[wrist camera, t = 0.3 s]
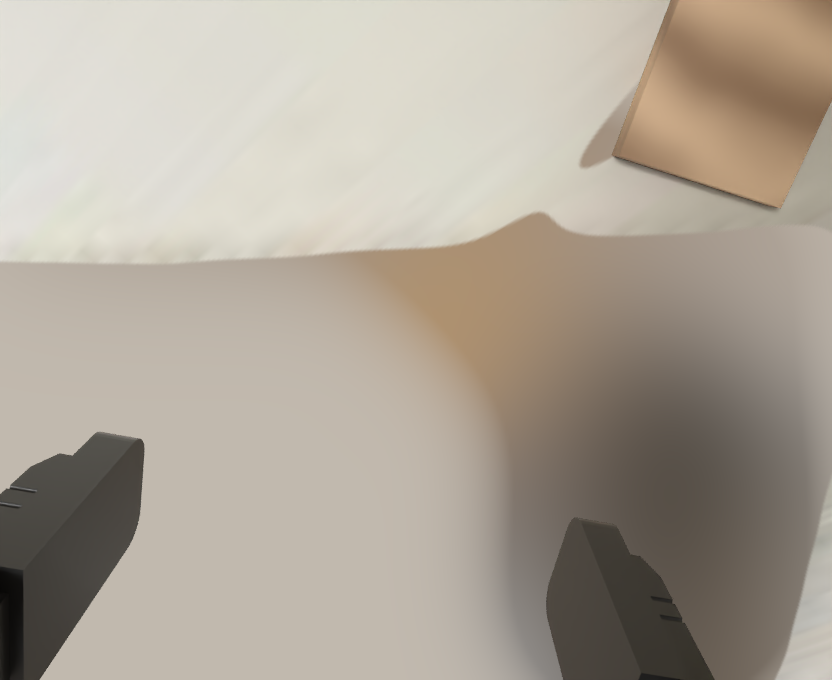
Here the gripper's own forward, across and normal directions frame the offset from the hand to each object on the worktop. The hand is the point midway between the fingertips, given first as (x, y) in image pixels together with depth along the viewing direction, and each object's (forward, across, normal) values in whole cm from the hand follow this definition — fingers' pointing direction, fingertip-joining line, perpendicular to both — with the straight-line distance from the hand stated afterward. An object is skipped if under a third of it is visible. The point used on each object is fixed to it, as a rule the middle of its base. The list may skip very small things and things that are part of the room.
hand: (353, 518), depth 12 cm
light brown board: (+29, -17, -13) cm, 36 cm away
